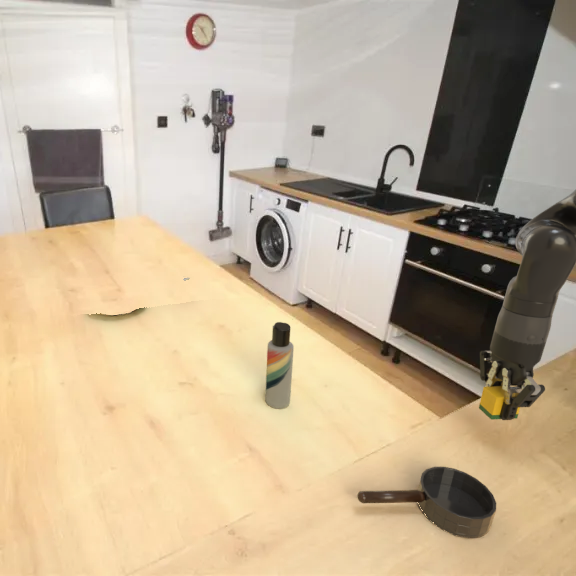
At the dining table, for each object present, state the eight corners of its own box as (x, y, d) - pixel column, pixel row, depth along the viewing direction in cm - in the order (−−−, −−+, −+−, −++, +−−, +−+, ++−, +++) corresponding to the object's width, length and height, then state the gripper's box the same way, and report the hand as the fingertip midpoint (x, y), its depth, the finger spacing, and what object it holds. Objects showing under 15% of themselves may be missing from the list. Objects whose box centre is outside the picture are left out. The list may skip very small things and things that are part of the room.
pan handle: (420, 495, 68) (422, 487, 67) (426, 504, 66) (428, 496, 65) (354, 496, 68) (356, 488, 67) (359, 506, 66) (360, 497, 65)
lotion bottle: (274, 391, 100) (278, 317, 93) (294, 401, 96) (300, 324, 89) (260, 402, 96) (263, 325, 89) (280, 412, 92) (285, 332, 85)
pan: (464, 483, 72) (468, 465, 71) (506, 537, 63) (512, 518, 61) (405, 484, 72) (408, 467, 71) (438, 538, 63) (443, 519, 61)
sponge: (503, 406, 81) (509, 385, 80) (517, 418, 78) (523, 396, 76) (478, 408, 82) (483, 386, 80) (491, 419, 78) (496, 397, 76)
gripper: (575, 351, 67) (546, 436, 73) (512, 316, 80) (491, 390, 86) (530, 352, 67) (504, 437, 73) (474, 316, 80) (456, 391, 86)
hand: (497, 411), depth 80 cm, fingers closed on sponge, 3 cm apart
